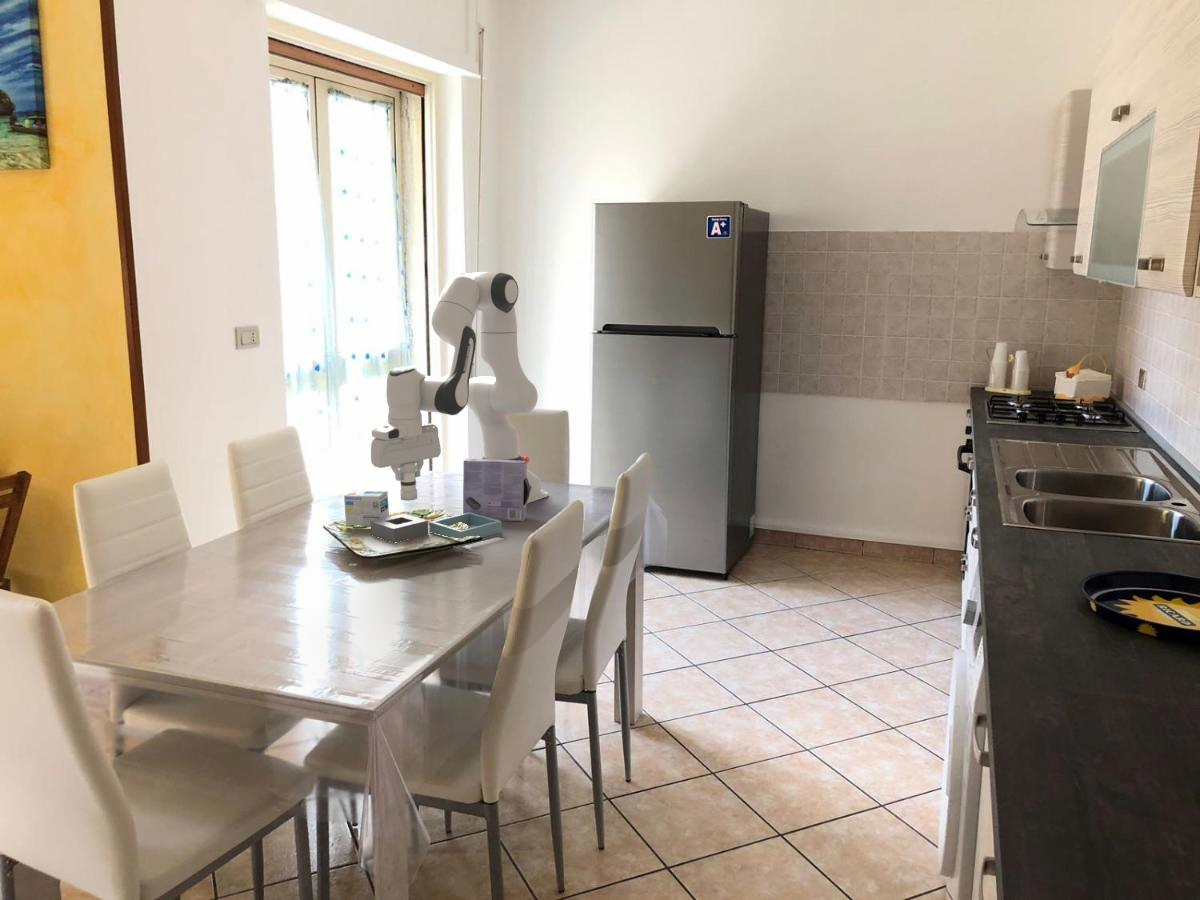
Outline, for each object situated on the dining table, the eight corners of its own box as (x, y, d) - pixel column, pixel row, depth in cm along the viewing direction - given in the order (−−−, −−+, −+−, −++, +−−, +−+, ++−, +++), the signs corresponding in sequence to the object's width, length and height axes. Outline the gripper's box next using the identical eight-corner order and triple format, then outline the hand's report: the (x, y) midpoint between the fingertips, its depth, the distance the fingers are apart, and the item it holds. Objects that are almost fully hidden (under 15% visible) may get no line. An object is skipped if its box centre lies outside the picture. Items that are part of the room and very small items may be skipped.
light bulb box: (390, 526, 267) (388, 490, 265) (382, 533, 260) (380, 495, 258) (354, 526, 268) (351, 489, 266) (345, 532, 261) (343, 495, 259)
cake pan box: (530, 517, 276) (529, 458, 273) (527, 522, 271) (526, 462, 268) (466, 516, 278) (464, 457, 274) (462, 520, 273) (460, 461, 269)
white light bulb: (411, 495, 257) (409, 459, 255) (420, 498, 254) (418, 462, 252) (397, 498, 254) (395, 462, 252) (406, 501, 251) (404, 464, 249)
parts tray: (469, 525, 267) (469, 512, 267) (502, 535, 258) (501, 521, 257) (429, 536, 257) (429, 522, 257) (461, 546, 248) (461, 531, 247)
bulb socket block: (405, 530, 263) (404, 513, 262) (428, 538, 255) (427, 520, 254) (371, 538, 255) (370, 521, 254) (394, 547, 248) (393, 528, 247)
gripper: (430, 421, 259) (432, 470, 262) (366, 431, 245) (369, 483, 248) (444, 424, 255) (446, 473, 258) (379, 434, 241) (382, 487, 243)
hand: (408, 478), depth 253 cm, fingers closed on white light bulb, 4 cm apart
